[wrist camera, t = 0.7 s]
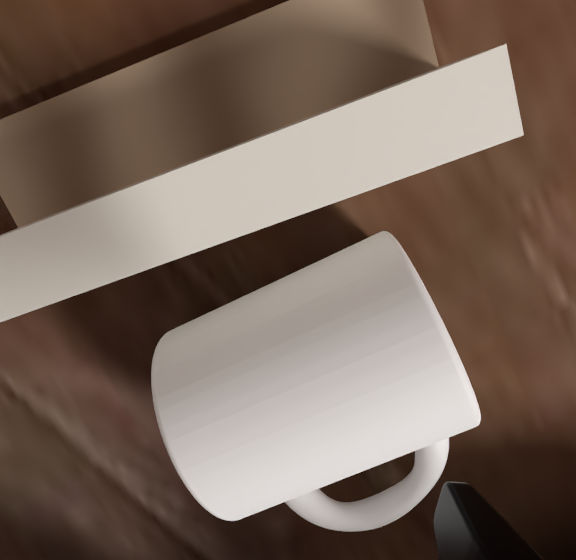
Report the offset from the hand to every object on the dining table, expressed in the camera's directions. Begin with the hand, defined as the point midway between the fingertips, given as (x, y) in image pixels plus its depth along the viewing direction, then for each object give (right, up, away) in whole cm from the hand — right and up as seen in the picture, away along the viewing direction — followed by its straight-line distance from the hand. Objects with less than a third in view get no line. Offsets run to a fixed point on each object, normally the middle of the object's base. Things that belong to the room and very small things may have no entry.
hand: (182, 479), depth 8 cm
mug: (+4, -1, +15) cm, 16 cm away
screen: (-1, +10, +11) cm, 15 cm away
